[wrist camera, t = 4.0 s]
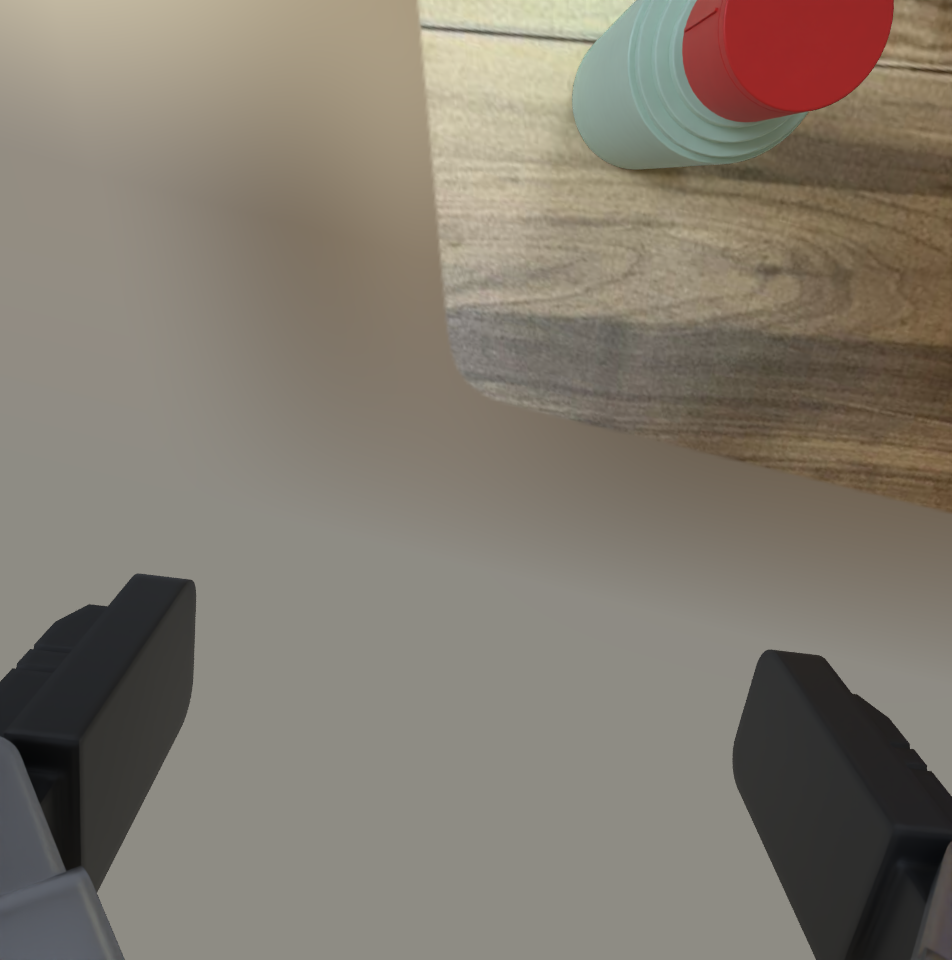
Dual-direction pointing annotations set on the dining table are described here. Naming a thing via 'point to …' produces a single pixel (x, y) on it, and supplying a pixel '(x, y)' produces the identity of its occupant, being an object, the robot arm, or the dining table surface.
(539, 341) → the dining table surface
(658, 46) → the water bottle
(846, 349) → the dining table surface
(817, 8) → the cap
